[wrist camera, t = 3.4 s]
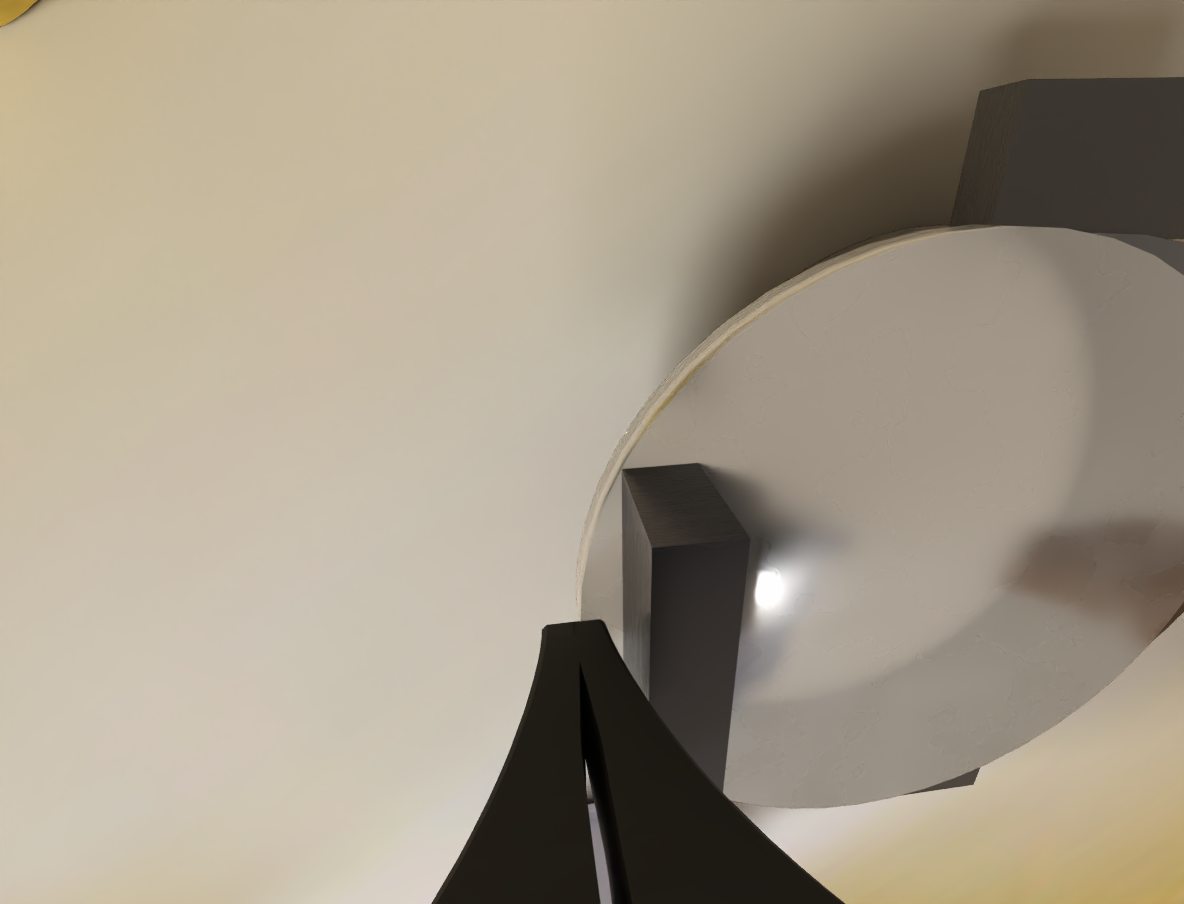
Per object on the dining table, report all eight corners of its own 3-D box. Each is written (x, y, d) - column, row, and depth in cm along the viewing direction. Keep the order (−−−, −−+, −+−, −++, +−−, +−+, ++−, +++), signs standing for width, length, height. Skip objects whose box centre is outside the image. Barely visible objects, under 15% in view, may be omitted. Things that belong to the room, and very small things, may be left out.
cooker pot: (1005, 666, 25) (1114, 769, 20) (660, 709, 23) (694, 832, 19) (1220, 109, 16) (1503, 71, 11) (679, 119, 14) (753, 80, 10)
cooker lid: (1069, 741, 19) (1194, 862, 15) (587, 810, 17) (604, 963, 14) (1331, 209, 12) (1668, 212, 8) (557, 241, 10) (577, 260, 7)
